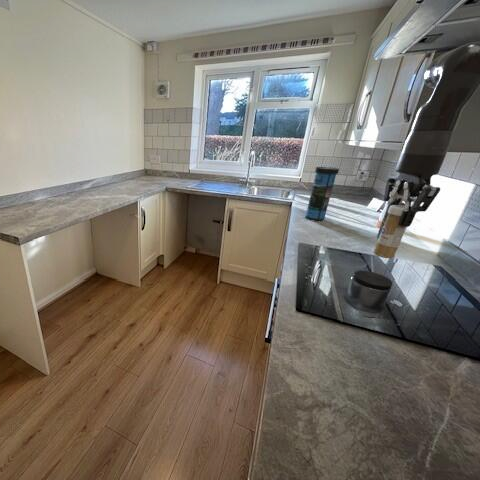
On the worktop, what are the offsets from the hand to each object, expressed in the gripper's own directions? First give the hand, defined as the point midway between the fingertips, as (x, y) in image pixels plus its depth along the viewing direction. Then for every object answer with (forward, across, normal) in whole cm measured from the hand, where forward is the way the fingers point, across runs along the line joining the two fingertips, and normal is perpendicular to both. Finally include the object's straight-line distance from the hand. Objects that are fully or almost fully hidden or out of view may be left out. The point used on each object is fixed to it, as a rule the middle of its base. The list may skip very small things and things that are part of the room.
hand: (396, 222), depth 66 cm
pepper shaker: (+27, +82, -54) cm, 102 cm away
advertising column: (+27, +91, -21) cm, 97 cm away
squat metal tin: (+27, 0, 0) cm, 27 cm away
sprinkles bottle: (+10, 0, 0) cm, 10 cm away
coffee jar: (+27, +61, -43) cm, 79 cm away
